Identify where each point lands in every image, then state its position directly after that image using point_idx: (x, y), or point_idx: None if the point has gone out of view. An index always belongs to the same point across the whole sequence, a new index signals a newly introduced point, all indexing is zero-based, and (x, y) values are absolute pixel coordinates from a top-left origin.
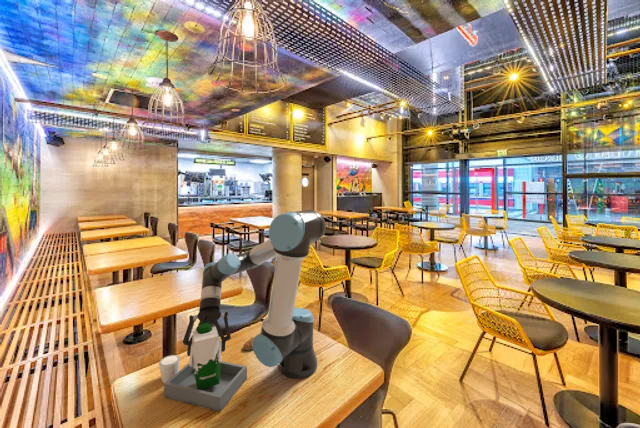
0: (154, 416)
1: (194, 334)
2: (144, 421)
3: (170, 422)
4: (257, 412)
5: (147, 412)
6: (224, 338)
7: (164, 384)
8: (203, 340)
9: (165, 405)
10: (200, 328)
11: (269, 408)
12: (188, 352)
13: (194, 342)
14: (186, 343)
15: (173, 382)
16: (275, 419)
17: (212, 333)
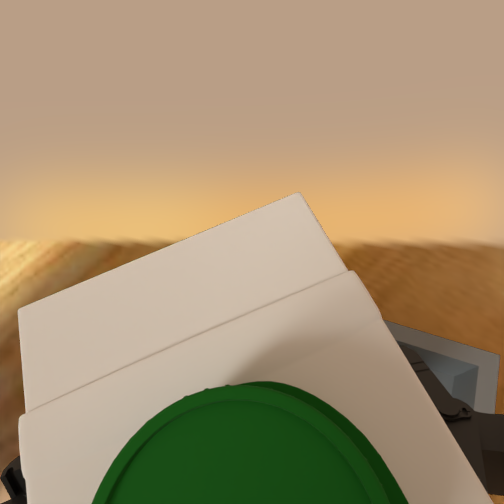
0: (433, 267)
1: (399, 378)
2: (456, 247)
3: (352, 242)
4: (66, 277)
5: (480, 286)
6: (13, 465)
7: (495, 355)
8: (201, 237)
9: (427, 320)
10: (294, 398)
11: (25, 292)
12: (407, 358)
13: (302, 202)
14: (498, 422)
15: (465, 402)
16: (18, 250)
17: (96, 391)
